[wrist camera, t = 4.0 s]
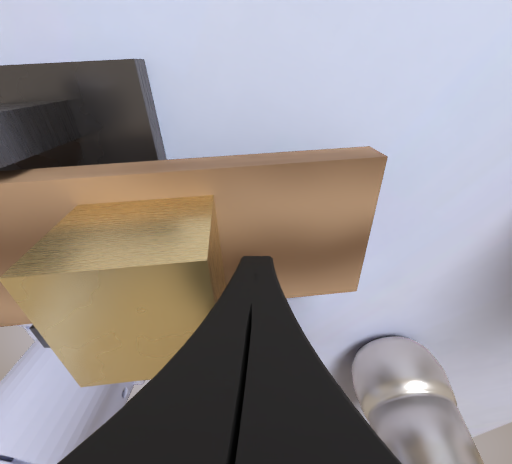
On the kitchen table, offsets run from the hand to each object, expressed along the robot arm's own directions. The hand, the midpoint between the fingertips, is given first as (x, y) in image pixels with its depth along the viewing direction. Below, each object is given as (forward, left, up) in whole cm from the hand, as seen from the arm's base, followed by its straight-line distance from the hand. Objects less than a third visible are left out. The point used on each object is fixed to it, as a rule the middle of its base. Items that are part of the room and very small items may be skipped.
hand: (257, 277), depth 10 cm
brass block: (0, +4, -2) cm, 4 cm away
